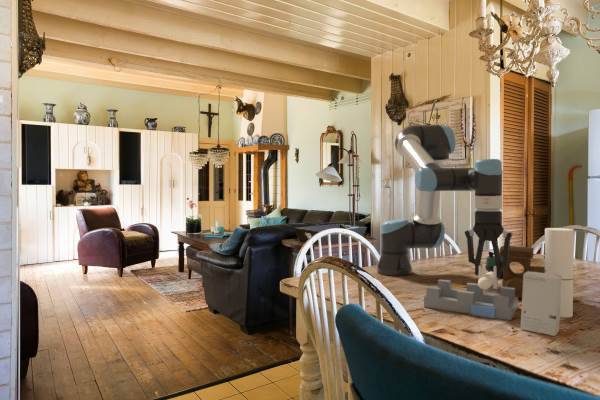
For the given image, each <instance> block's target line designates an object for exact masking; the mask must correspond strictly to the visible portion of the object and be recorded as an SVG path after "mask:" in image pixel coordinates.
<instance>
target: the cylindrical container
mask: <svg viewBox="0 0 600 400" xmlns="http://www.w3.org/2000/svg"><path fill="white" fill-rule="evenodd" d="M574 233H575V229H573V228H564V227H545V228H544V256H545V259H544V267H545V273H547V274H553V275H559V276H562V285H561V304H560V318H573V315H574V313H573V312H574V242H575V241H574V240H575V237H574Z"/></svg>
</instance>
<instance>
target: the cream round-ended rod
mask: <svg viewBox="0 0 600 400" xmlns="http://www.w3.org/2000/svg"><path fill="white" fill-rule="evenodd" d="M493 283H494V281H493V272H488V271H487V272H486V273H485V274H483V277H482V278H480V279H479V278H478V280H477V284H478V286H479V287H480V288H481V289H483V291H484V290H488V289H490V288H491V287H492V286H493Z"/></svg>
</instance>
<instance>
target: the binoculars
mask: <svg viewBox="0 0 600 400" xmlns="http://www.w3.org/2000/svg"><path fill="white" fill-rule="evenodd" d="M501 262H502V257H501ZM494 266H496V262H495V257H494V251H490V250H489V251H488V256H486V261H485V266H484V267H485V270H486V271H487V273H488V272H493V267H494ZM500 279H502V280H503V279H504V277H503V266H502V276H501V277H500Z"/></svg>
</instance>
